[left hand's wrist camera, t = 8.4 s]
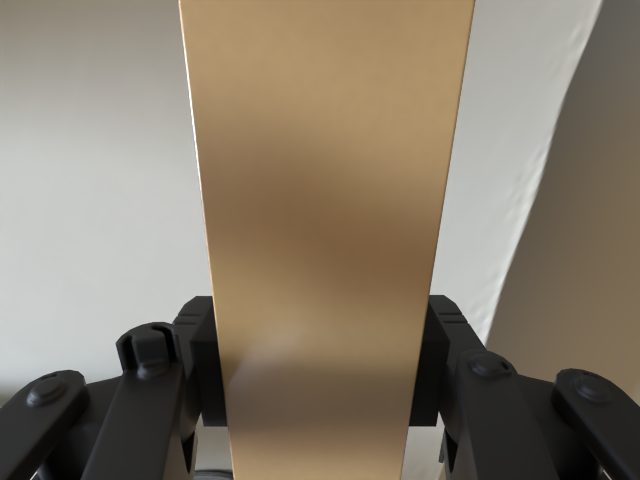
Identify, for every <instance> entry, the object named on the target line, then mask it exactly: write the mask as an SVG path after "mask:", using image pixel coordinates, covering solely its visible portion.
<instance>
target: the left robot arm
mask: <svg viewBox="0 0 640 480" xmlns="http://www.w3.org/2000/svg"><path fill="white" fill-rule="evenodd" d="M116 347H117V351H118V355H119V358H120V362H121V366H122V370H123V374H122V376H119V377H115V378H112V379H107V380H103V381H99V382H94V383H90V384H86V382H85V379H84V376H83V375H82V374H81V373H79V372H78V371H72V370H64V371H57V372H53V373H50V374H47V375H44V376H42V377H40V378H38V379H36V380H34V381H32V382H30V383H29V384H28V385H26V386H25V387H24V388H22V389H21V390H20V391H18V392H17V393H16V394H15V395H14V396H13V397H12V398H11V399H10V400H9V401H8V402H7V403H6V404H5V405H4V406H3V407H2V408H1V409H0V480H30V479H31V477H32V476H33V475H34V474H35V472H36V471H37V474H36V475H35V476H34V478H33V479H32V480H234V476H233V475H232V474H227V473H220V472H195V463H196V452H197V442H198V441H197V434H196V428H195V426H196V424H197V421H198V419H199V416H200V413H202V419H203V425H204V426H228V425H227V416H226V407H225V399H224V390H223V382H222V373H221V364H220V356H219V347H218V338H217V330H216V321H215V313H214V304H213V296H196V297H194V298H193V299H192V300H190V301H189V302H187V303H186V304H185V305H184V306H183V308H182V309H181V311H180V312H179V314H178V316H177V317H176V318H175V320H174V321H173V324H169V323H166V322H152V323H148V324H143V325H140V326H138V327H135V328H133V329H131V330H129V331H128V332H126V333H125V334H123V335H122V336H121V337H120V338H119V339H118V341H117V342H116ZM438 412H440V415H441V417H442V420H443V423H444V425H445V428H444V434H443V439H442V444H441V450H440V456H439V462H440V463H443V461H444V462H445V472H446V480H610V479H609V478H608V477H607V476H606V475H605V473H604V472H603V470H605V471H606V473H607V474H608V475H609V477H610V478H611V479H612V480H640V407H639V406H638V405H637V404H636V403H635V402H634V401H633V400H632V399H631V398H630V397H629V396H628V395H627V394H626V393H625V392H624V391H623V390H621V389H620V388H619V387H617V386H616V385H615V384H613V383H612V382H611V381H609V380H607V379H605V378H603V377H601V376H599V375H597V374H594V373H592V372H589V371H585V370H580V369H572V368H571V369H565V370H561V371H560V372H559V373H558V374H557V375H556V378H555V381H554V383H552V382H548V381H543V380H539V379H534V378H530V377H526V376H523V375H519V374H518V373H517V371H516V370H515V368H514V367H513V365H512V364H511V363H510V362H508V361H507V360H506V359H505V358H503V357H502V356H499V355H497V354H495V353H493V352H490V351H487V350H486V348H485V347H484V345H483V344H482V342H481V341H480V339H479V338H478V336H477V335H476V333H475V332H474V330H473V329H472V327H471V326H470V324H468V321H467V320H466V318H465V317H464V315H462V312H461V311H460V309H459V308H458V306H457V305H456V303H454V302H453V301H451V300H450V299H449V298H447V297H446V296H444V295H429V300H428V306H427V313H426V319H425V325H424V332H423V338H422V345H421V351H420V357H419V364H418V370H417V376H416V383H415V389H414V396H413V402H412V408H411V415H410V421H409V426H436V424H437V418H438Z"/></svg>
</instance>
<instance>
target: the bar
mask: <svg viewBox="0 0 640 480" xmlns="http://www.w3.org/2000/svg"><path fill="white" fill-rule="evenodd" d="M178 3H179V11H180V20H181V29H182V37H183V46H184V54H185V63H186V72H187V80H188V89H189V97H190V106H191V115H192V123H193V132H194V140H195V149H196V158H197V166H198V175H199V184H200V192H201V201H202V209H203V218H204V227H205V235H206V244H207V252H208V261H209V270H210V278H211V287H212V295H213V304H214V313H215V321H216V330H217V338H218V347H219V356H220V364H221V373H222V382H223V390H224V399H225V407H226V416H227V425H228V433H229V442H230V450H231V459H232V468H233V476H234V480H400V479H401V472H402V466H403V460H404V453H405V447H406V440H407V434H408V428H409V421H410V415H411V408H412V402H413V396H414V389H415V383H416V376H417V370H418V364H419V357H420V351H421V345H422V338H423V332H424V325H425V319H426V313H427V306H428V300H429V293H430V287H431V281H432V274H433V268H434V261H435V255H436V249H437V242H438V236H439V229H440V223H441V217H442V210H443V204H444V198H445V191H446V185H447V178H448V172H449V166H450V159H451V153H452V146H453V140H454V134H455V127H456V121H457V114H458V108H459V102H460V95H461V89H462V83H463V76H464V70H465V63H466V57H467V51H468V44H469V38H470V31H471V25H472V19H473V12H474V6H475V0H178Z"/></svg>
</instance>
